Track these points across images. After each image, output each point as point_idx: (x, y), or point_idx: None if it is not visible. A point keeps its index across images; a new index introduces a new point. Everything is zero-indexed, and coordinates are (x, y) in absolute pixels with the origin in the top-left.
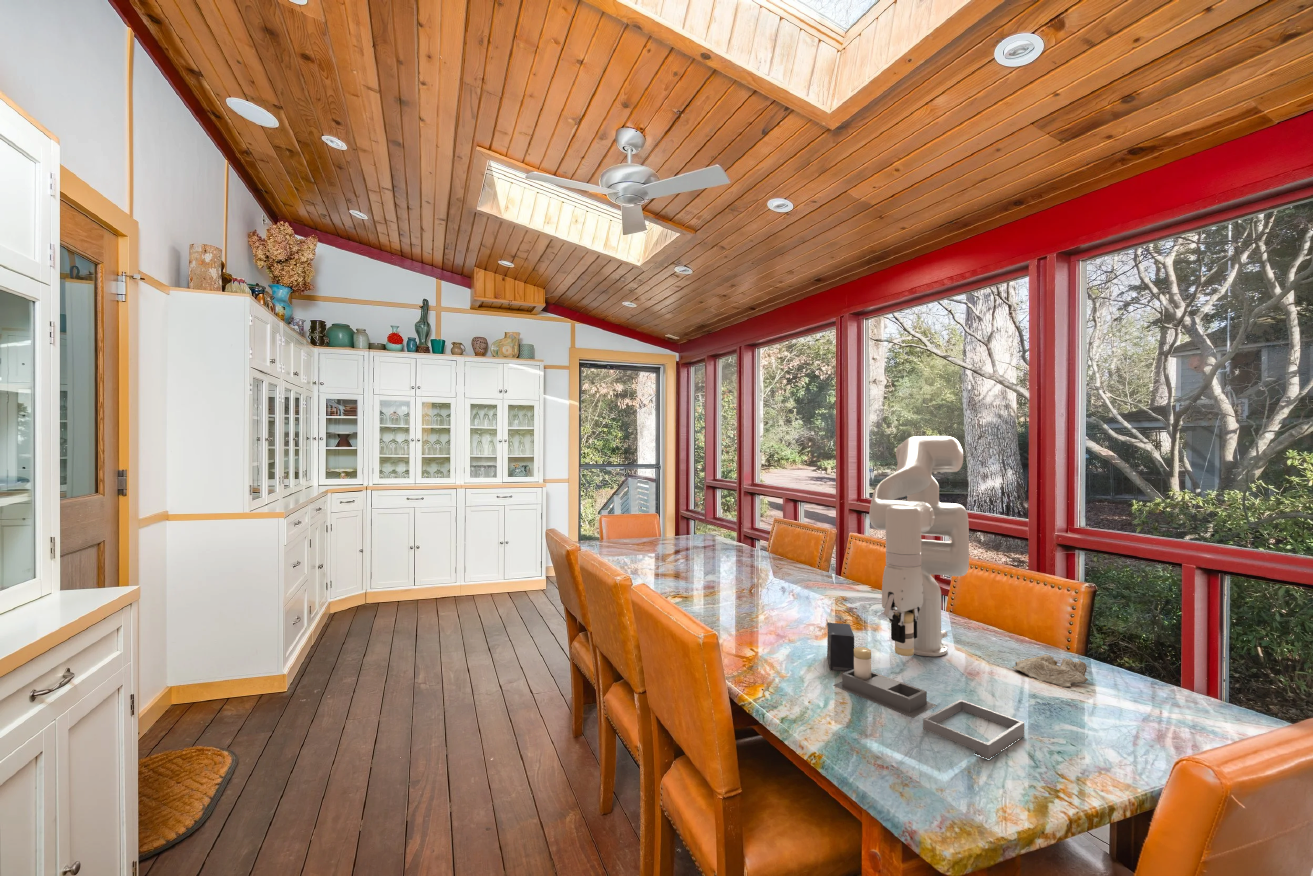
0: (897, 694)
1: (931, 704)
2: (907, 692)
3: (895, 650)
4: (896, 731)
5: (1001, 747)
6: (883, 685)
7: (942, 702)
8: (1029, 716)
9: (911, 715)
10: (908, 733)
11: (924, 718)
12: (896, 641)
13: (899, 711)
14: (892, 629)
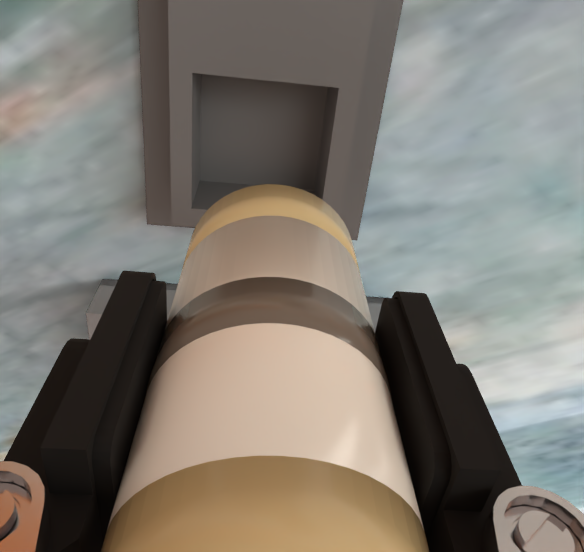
0: (172, 153)
1: (345, 221)
2: (327, 125)
3: (202, 222)
4: (18, 206)
5: None
6: (223, 23)
7: (447, 214)
8: (513, 431)
9: (163, 211)
10: (50, 244)
11: (93, 316)
12: (176, 294)
13: (152, 156)
14: (31, 409)
